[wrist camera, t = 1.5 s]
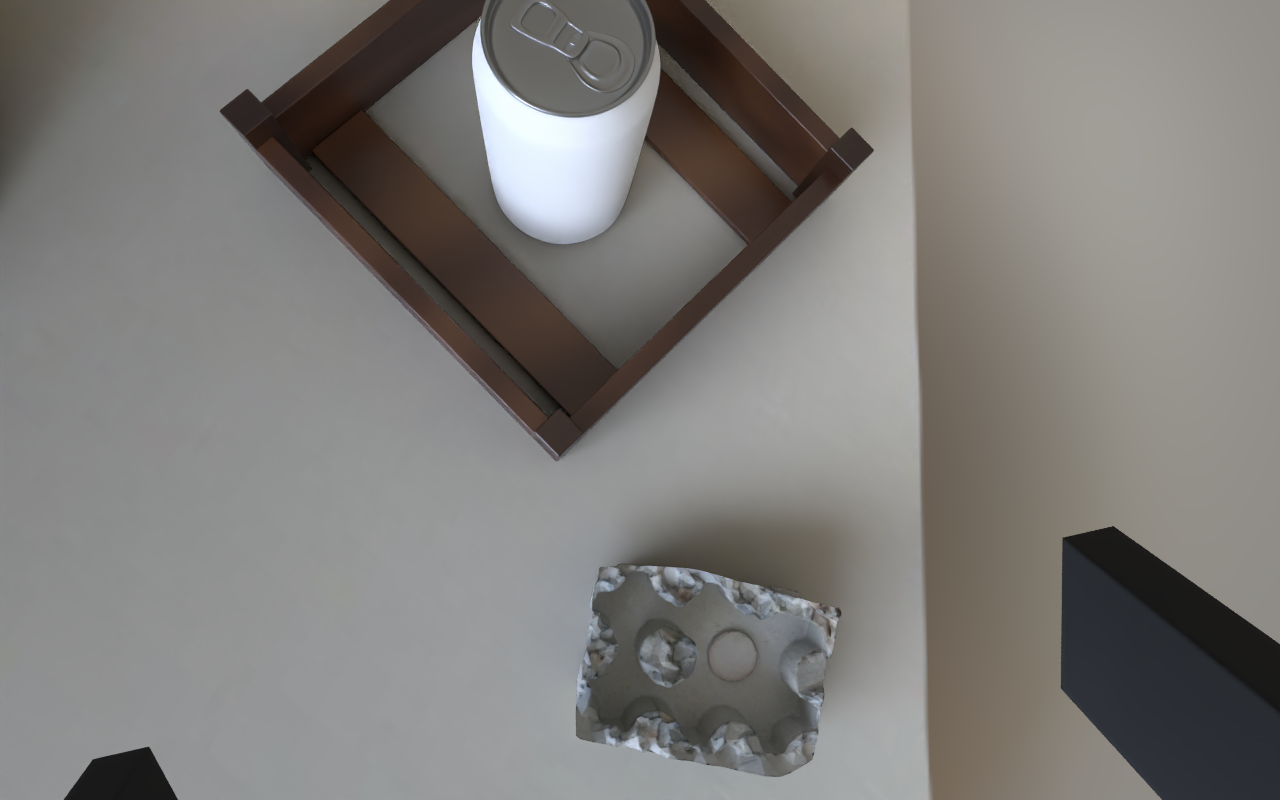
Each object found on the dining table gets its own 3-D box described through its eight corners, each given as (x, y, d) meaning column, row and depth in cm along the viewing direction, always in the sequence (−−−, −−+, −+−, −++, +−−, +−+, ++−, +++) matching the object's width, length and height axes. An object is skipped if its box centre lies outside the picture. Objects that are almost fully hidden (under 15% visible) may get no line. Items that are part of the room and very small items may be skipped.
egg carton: (820, 592, 35) (856, 606, 31) (790, 758, 34) (823, 795, 30) (598, 544, 34) (606, 552, 30) (560, 714, 33) (563, 746, 29)
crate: (267, 166, 34) (218, 110, 29) (565, -76, 38) (568, -165, 32) (556, 462, 35) (558, 457, 29) (830, 195, 38) (874, 149, 33)
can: (583, 273, 36) (602, 167, 24) (465, 198, 35) (425, 54, 24) (653, 164, 37) (705, 12, 25) (539, 91, 36) (537, -99, 25)
